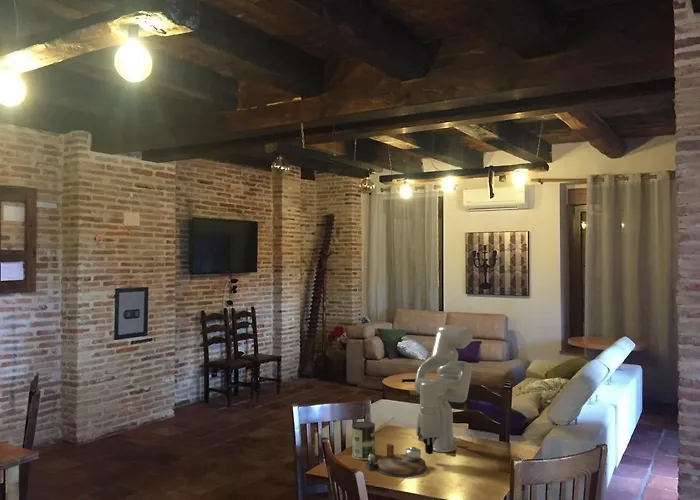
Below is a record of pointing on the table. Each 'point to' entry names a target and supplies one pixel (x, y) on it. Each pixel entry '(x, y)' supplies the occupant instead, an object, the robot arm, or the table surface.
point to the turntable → (399, 464)
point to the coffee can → (363, 440)
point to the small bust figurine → (371, 463)
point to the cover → (413, 454)
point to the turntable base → (402, 476)
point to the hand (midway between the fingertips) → (429, 453)
